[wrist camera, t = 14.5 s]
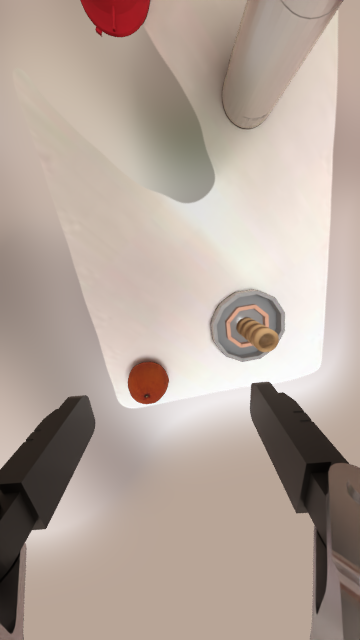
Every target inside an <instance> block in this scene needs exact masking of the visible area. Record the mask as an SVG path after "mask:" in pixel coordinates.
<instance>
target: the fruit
mask: <svg viewBox="0 0 360 640" xmlns="http://www.w3.org/2000/svg"><path fill="white" fill-rule="evenodd" d="M168 382H169V378H168V375H167V373H166V371H165V370H164V369H163V368H162V367H161V366H160V365H159V364H157V363H153V362H143V363H140V364H138V365H136V366H135V367H134V368H133V369H132V370H131V372H130V375H129V378H128V388H129V391H130V394H131V396H132V397H133V399H135V400H136V401H137V402H139V403H142V404H152V403H155V402H157V401H158V400H159V399H160V398H161V397H162V396H163V395H164V394H165V392H166V390H167V387H168Z"/></svg>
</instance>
